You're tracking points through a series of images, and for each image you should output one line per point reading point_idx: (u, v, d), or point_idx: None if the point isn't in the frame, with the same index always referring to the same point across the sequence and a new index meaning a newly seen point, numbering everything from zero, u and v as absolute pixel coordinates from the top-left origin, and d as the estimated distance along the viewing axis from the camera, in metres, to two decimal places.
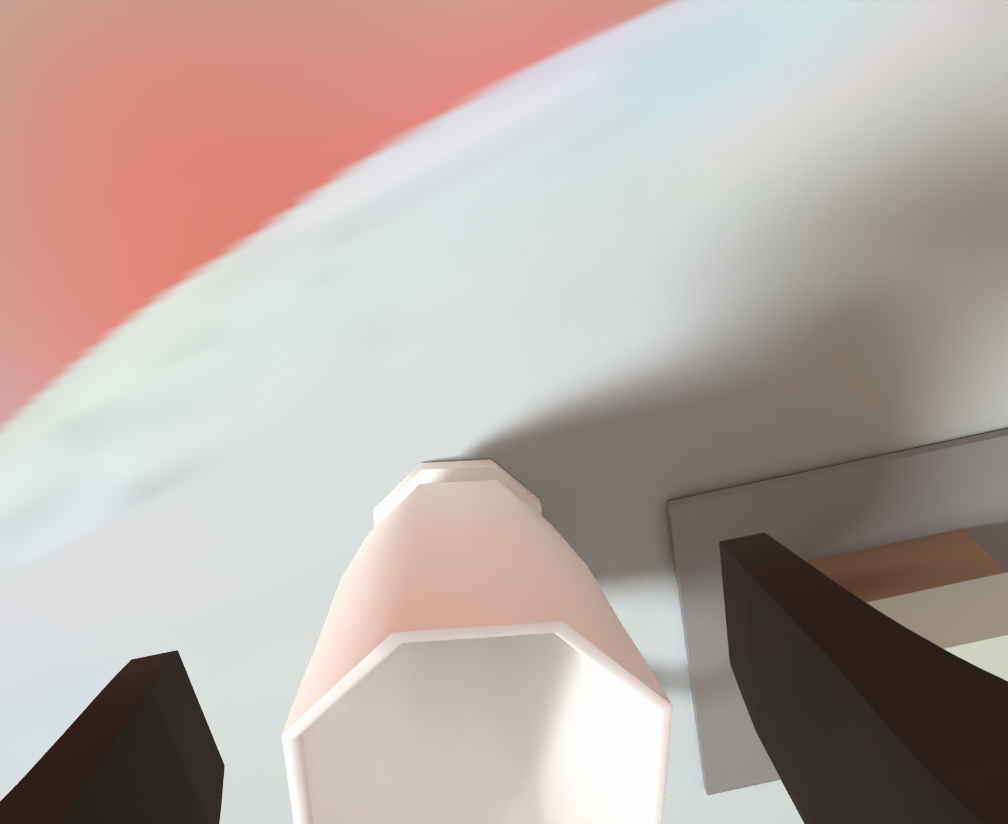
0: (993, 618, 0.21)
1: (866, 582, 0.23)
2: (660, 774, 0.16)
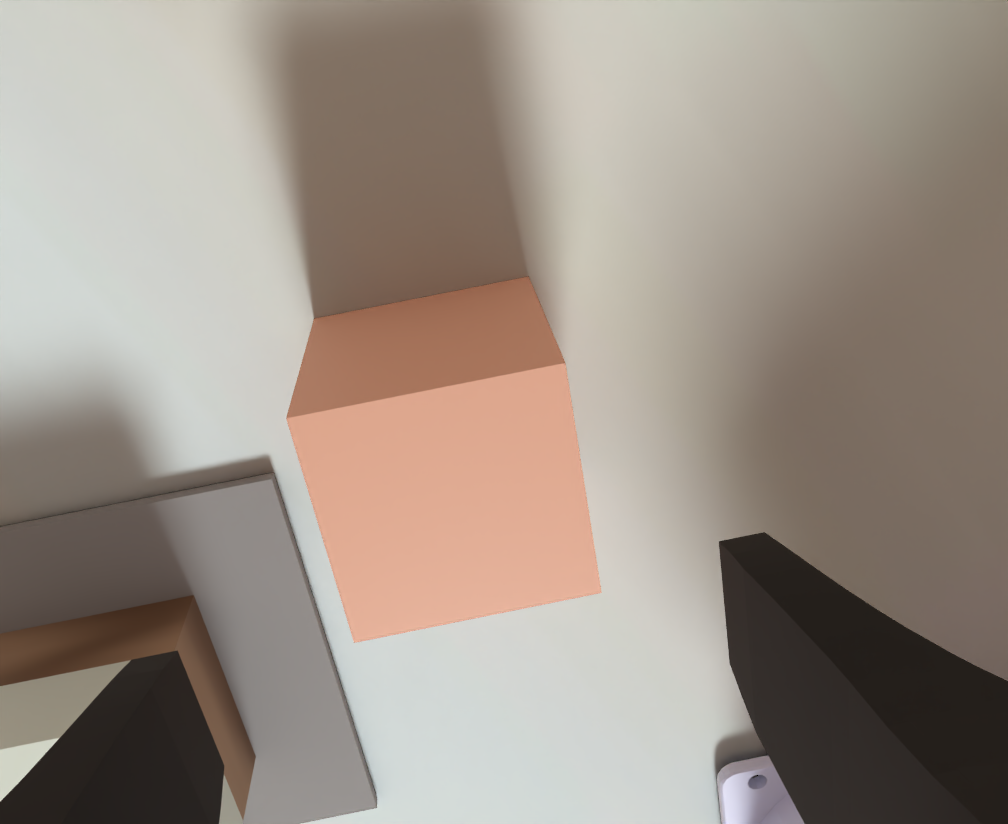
0: None
1: None
2: None
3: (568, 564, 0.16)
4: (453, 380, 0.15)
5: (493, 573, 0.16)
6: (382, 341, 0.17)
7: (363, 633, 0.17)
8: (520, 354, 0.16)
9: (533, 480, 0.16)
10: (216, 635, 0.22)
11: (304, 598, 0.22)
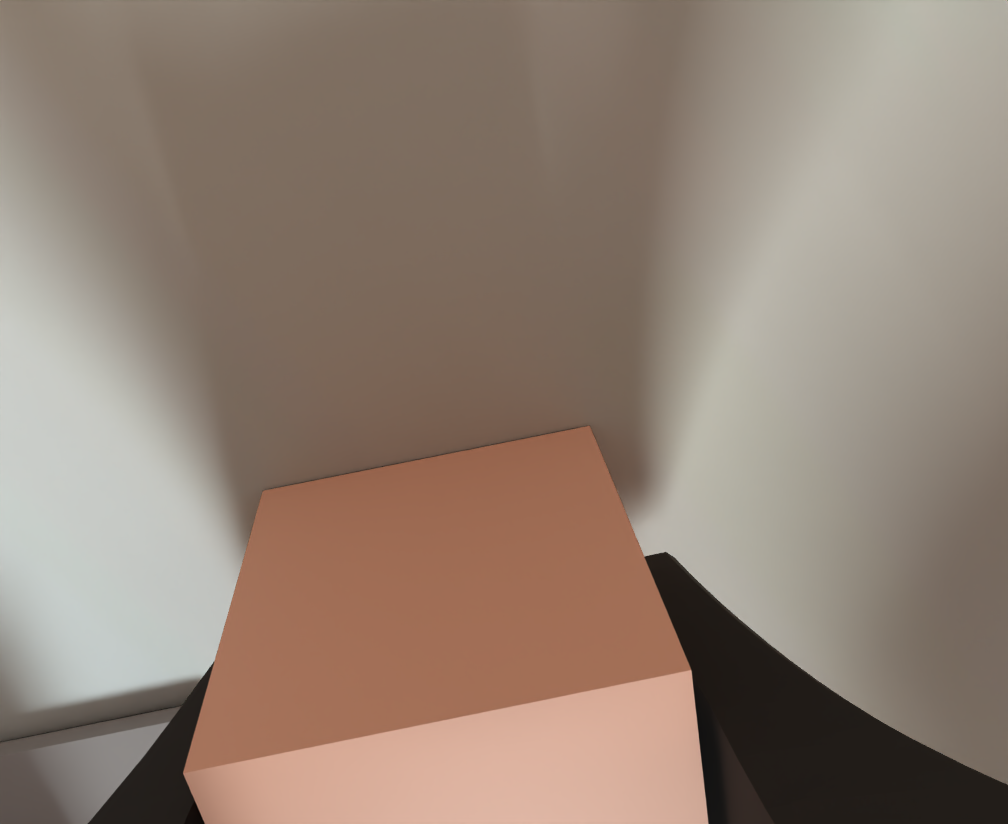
0: None
1: None
2: None
3: None
4: (488, 697, 0.08)
5: None
6: (363, 565, 0.11)
7: None
8: (603, 631, 0.09)
9: None
10: None
11: None
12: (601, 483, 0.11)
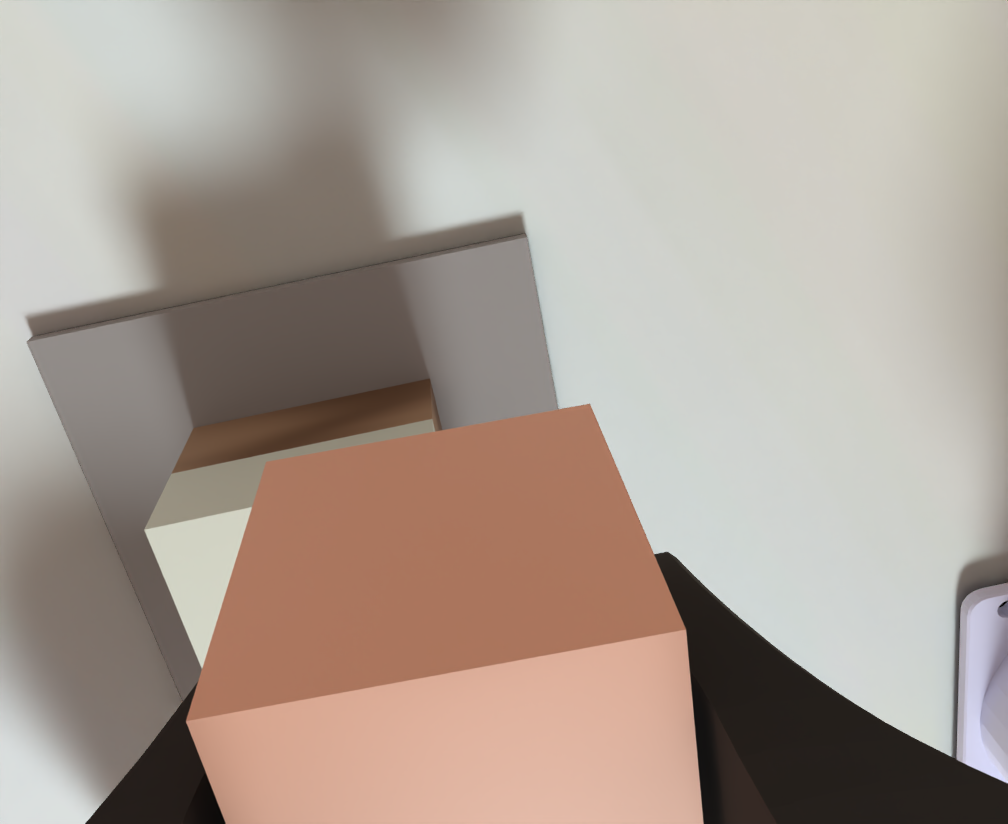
0: None
1: None
2: None
3: None
4: (485, 652, 0.08)
5: None
6: (365, 532, 0.11)
7: None
8: (600, 594, 0.09)
9: (617, 807, 0.09)
10: (449, 428, 0.20)
11: (547, 383, 0.20)
12: (600, 457, 0.11)
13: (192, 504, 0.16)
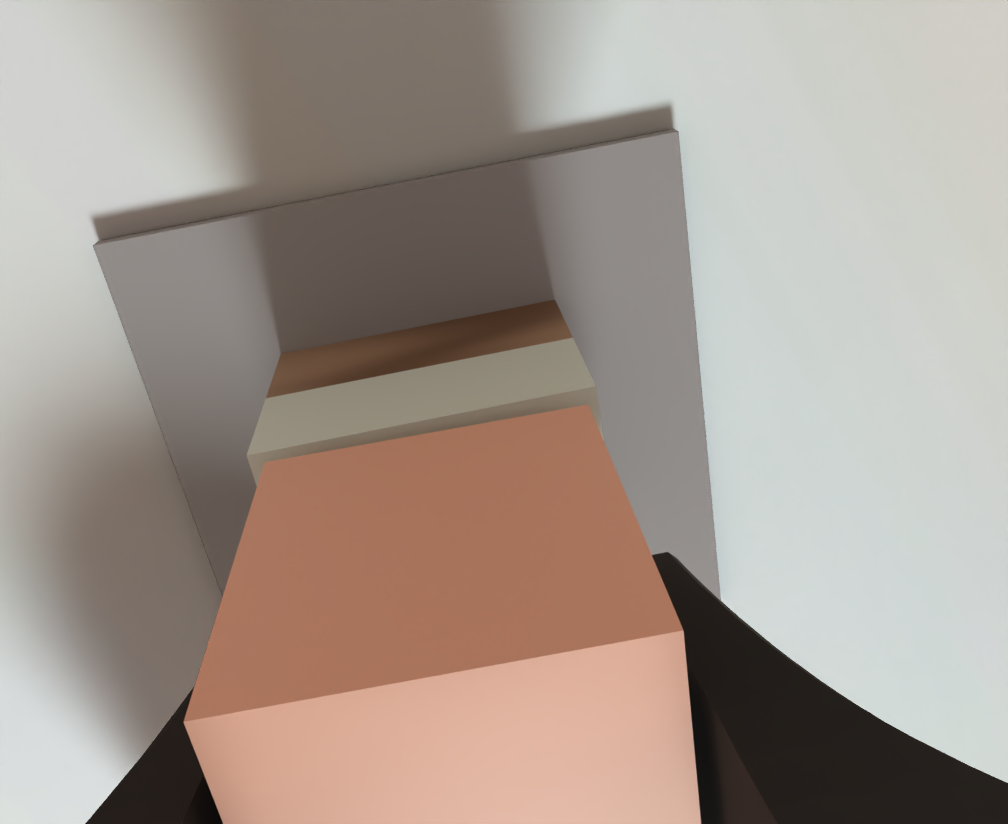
0: None
1: None
2: None
3: None
4: (484, 654, 0.08)
5: None
6: (363, 531, 0.11)
7: None
8: (598, 594, 0.09)
9: (614, 807, 0.09)
10: None
11: (687, 308, 0.17)
12: (598, 457, 0.11)
13: (300, 428, 0.14)
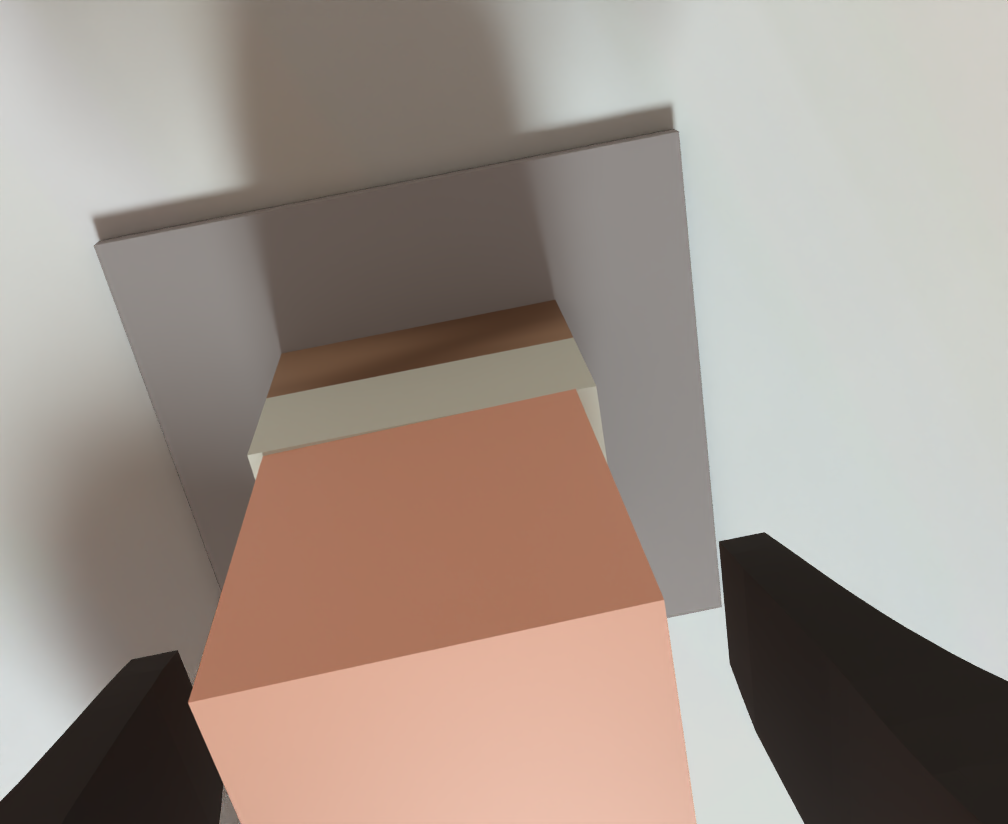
0: None
1: None
2: None
3: None
4: (473, 628, 0.09)
5: None
6: (358, 519, 0.11)
7: None
8: (583, 569, 0.09)
9: (606, 772, 0.10)
10: None
11: (688, 308, 0.17)
12: (585, 439, 0.12)
13: (301, 428, 0.14)
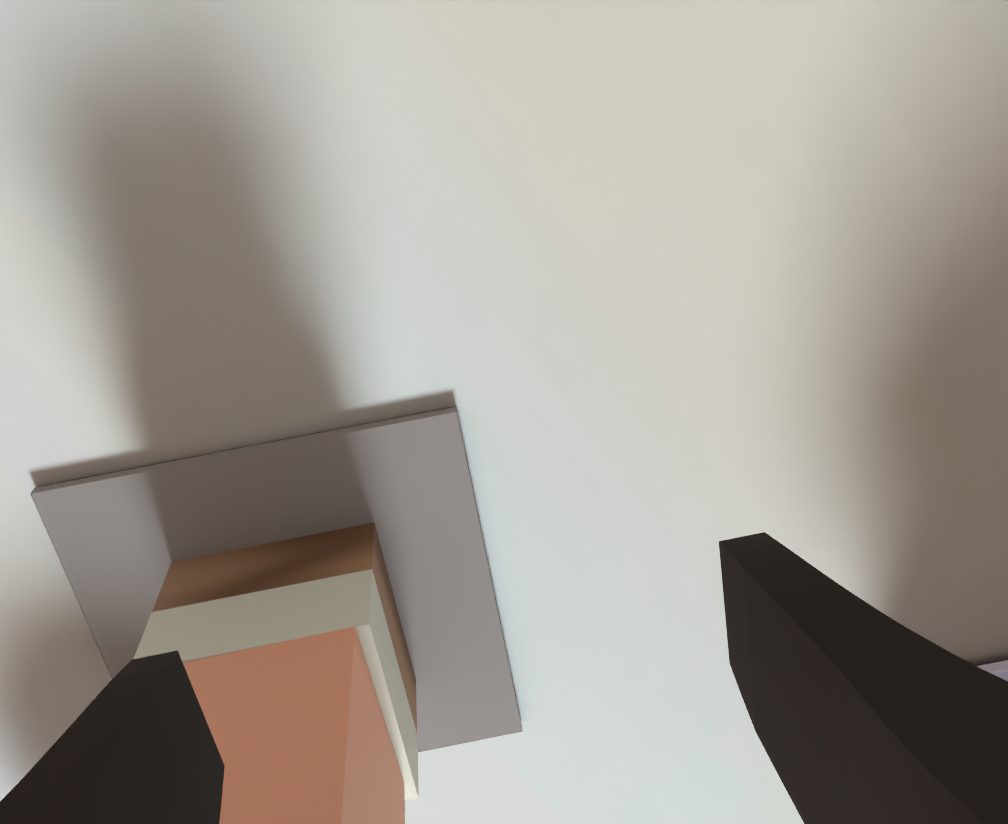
0: None
1: None
2: None
3: None
4: None
5: None
6: None
7: None
8: (305, 796, 0.15)
9: None
10: (390, 562, 0.23)
11: (474, 526, 0.23)
12: (344, 679, 0.18)
13: (169, 647, 0.20)
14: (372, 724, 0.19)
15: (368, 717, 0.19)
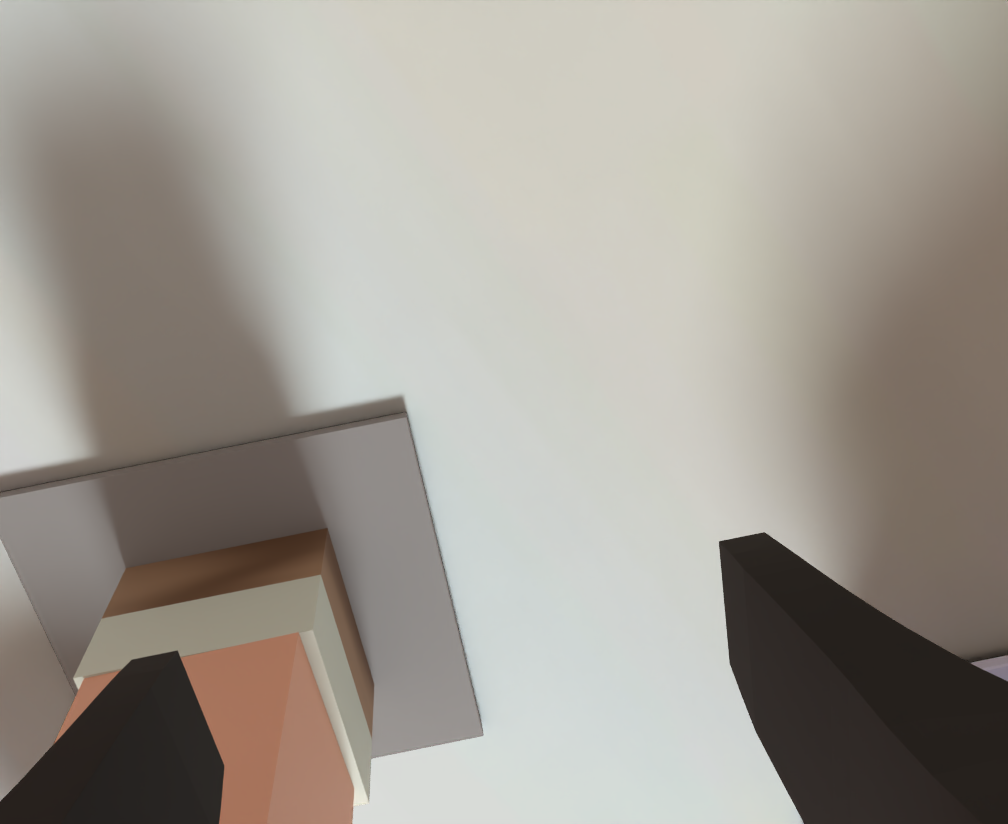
0: None
1: None
2: None
3: None
4: None
5: None
6: None
7: None
8: (234, 802, 0.15)
9: None
10: (345, 567, 0.23)
11: (428, 531, 0.23)
12: (282, 684, 0.18)
13: (115, 653, 0.20)
14: (315, 730, 0.19)
15: (310, 723, 0.19)
